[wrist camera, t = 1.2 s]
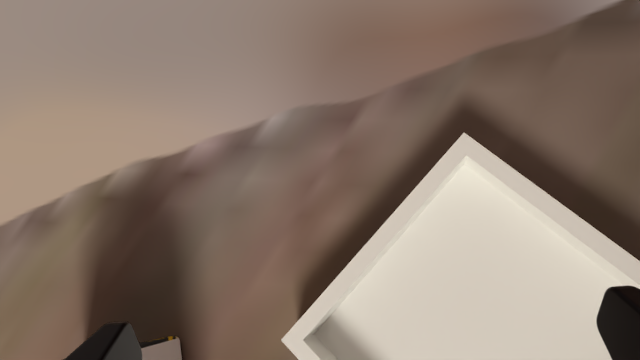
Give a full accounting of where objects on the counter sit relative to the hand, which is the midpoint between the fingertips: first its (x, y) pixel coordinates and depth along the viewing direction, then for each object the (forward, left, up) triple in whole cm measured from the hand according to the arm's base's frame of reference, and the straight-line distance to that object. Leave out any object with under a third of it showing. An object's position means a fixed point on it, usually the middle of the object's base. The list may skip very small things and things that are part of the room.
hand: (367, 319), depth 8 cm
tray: (-4, 0, -15) cm, 16 cm away
